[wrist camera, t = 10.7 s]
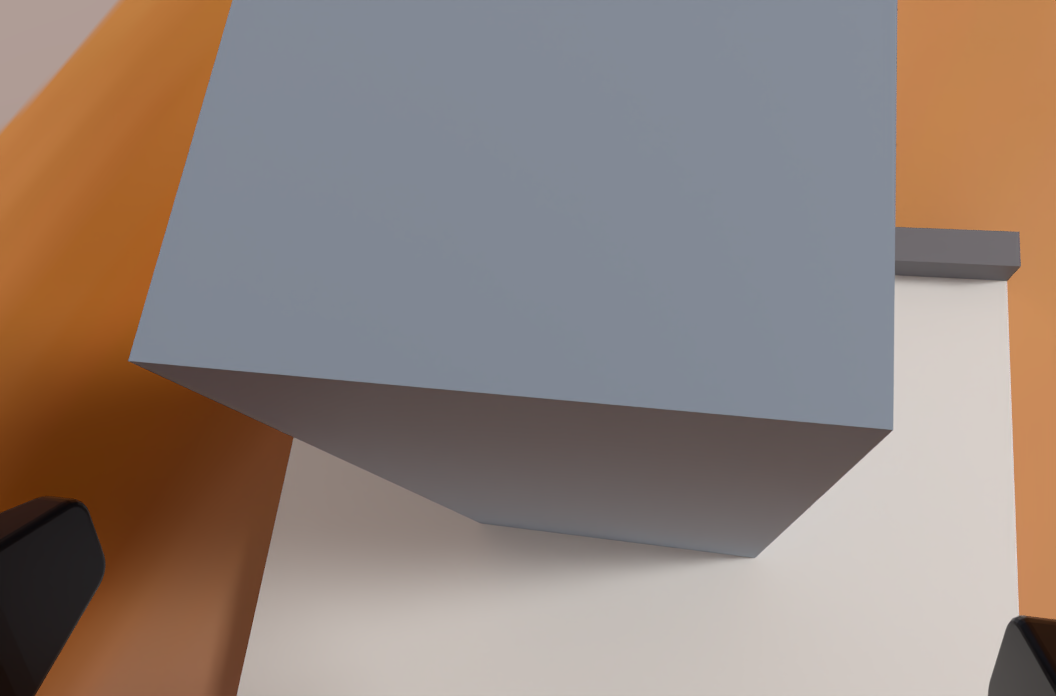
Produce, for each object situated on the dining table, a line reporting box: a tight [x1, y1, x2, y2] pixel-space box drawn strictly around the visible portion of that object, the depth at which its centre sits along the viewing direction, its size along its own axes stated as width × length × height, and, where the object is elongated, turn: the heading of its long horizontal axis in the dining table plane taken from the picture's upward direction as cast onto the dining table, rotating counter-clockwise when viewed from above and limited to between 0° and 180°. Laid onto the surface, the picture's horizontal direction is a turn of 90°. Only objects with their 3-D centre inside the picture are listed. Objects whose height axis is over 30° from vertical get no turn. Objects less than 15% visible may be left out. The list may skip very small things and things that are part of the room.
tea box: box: [128, 0, 897, 558], centre depth 13 cm, size 5×6×12 cm
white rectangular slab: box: [237, 227, 1021, 696], centre depth 18 cm, size 12×16×2 cm
